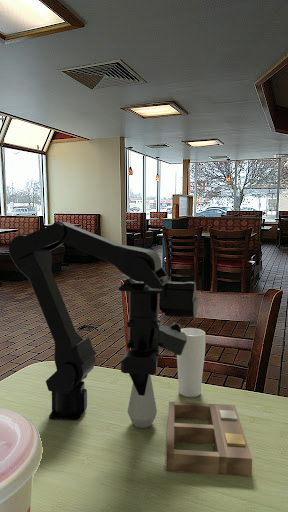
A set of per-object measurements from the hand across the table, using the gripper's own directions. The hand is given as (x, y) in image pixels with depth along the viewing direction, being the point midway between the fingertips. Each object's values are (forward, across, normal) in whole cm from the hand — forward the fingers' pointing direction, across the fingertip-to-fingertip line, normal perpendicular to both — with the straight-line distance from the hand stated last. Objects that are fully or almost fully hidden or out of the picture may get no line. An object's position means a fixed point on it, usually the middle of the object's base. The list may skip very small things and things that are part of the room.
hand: (142, 391), depth 75 cm
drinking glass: (+7, +15, -10) cm, 19 cm away
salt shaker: (+7, 0, 0) cm, 7 cm away
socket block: (+7, -5, -12) cm, 15 cm away
